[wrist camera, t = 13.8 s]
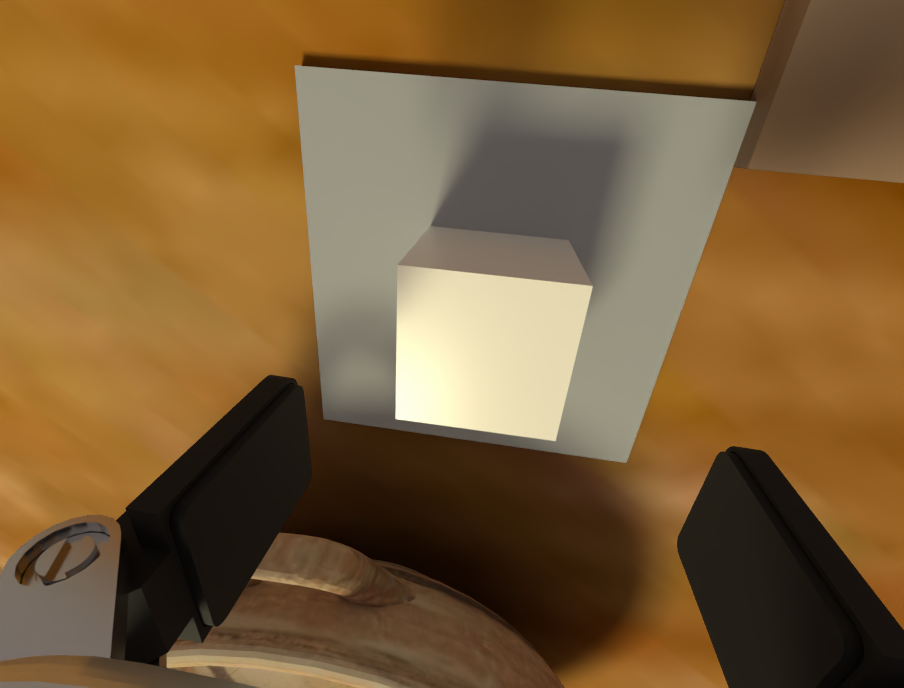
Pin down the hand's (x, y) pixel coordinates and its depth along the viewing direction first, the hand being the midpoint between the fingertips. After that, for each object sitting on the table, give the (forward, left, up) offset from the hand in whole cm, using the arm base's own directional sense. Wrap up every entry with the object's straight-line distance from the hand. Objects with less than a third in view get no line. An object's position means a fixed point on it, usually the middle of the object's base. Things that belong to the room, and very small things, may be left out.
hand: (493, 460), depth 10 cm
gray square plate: (0, +1, -10) cm, 10 cm away
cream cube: (0, +1, -10) cm, 10 cm away
